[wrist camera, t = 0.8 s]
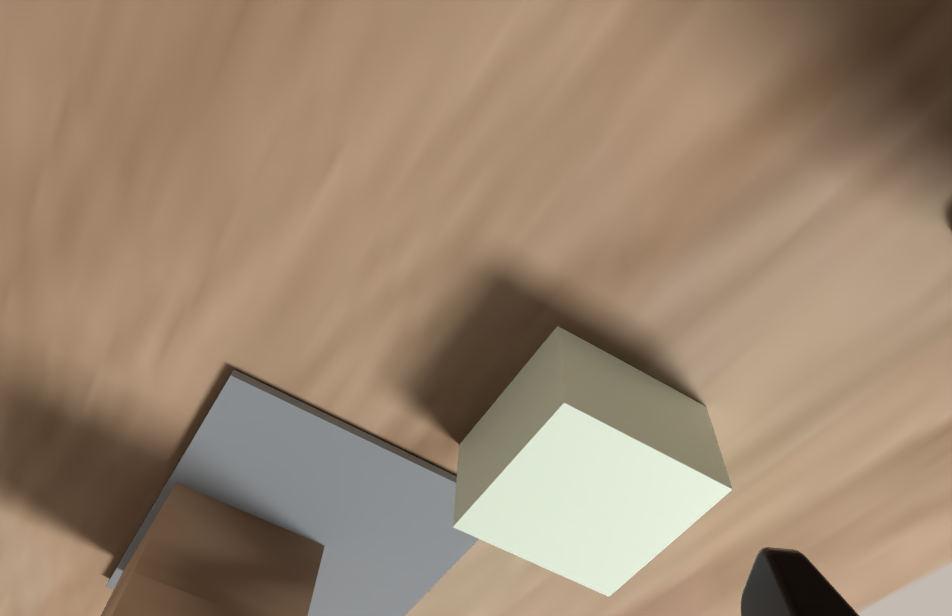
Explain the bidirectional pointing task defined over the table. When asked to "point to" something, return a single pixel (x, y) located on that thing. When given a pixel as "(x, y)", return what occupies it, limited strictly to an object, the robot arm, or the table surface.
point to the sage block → (587, 466)
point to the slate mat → (325, 497)
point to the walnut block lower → (226, 557)
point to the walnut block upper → (161, 601)
